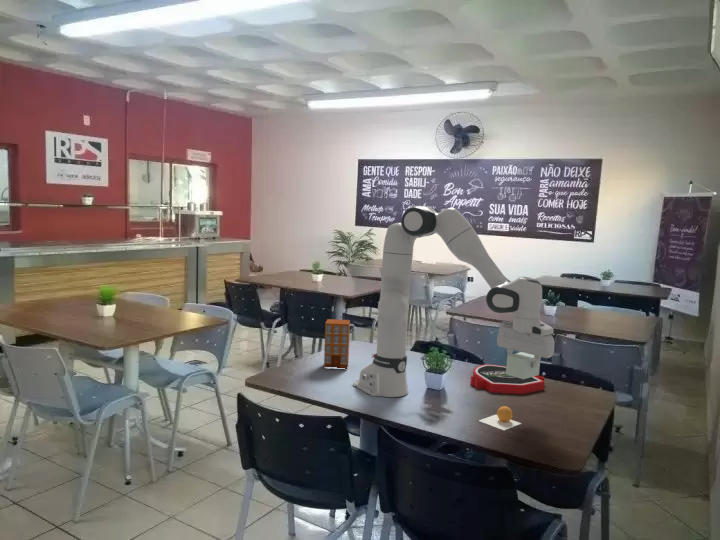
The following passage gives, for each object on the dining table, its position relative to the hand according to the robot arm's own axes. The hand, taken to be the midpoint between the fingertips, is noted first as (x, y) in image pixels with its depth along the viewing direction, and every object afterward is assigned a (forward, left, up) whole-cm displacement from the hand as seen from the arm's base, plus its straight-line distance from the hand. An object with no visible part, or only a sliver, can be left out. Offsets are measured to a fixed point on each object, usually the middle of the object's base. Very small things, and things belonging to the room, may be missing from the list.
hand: (522, 364), depth 192 cm
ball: (0, -9, -15) cm, 18 cm away
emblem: (-26, +28, -18) cm, 42 cm away
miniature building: (-81, -16, -18) cm, 84 cm away
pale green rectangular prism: (0, 0, -3) cm, 3 cm away
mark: (0, -12, -18) cm, 21 cm away
